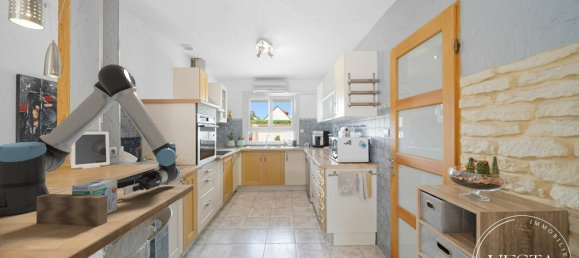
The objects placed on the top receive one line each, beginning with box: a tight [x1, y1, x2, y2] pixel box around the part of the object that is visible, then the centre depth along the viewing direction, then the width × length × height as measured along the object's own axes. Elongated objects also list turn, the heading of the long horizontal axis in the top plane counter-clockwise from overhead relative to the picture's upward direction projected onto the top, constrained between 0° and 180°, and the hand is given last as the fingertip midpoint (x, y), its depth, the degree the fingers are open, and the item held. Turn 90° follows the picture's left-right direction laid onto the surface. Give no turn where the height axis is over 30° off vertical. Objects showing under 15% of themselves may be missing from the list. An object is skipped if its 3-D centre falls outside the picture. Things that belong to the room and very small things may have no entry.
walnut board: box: [35, 193, 108, 227], centre depth 70 cm, size 20×3×8 cm, turn 84°
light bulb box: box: [71, 178, 118, 215], centre depth 77 cm, size 11×7×11 cm, turn 0°
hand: (111, 191), depth 83 cm, fingers open, 9 cm apart
